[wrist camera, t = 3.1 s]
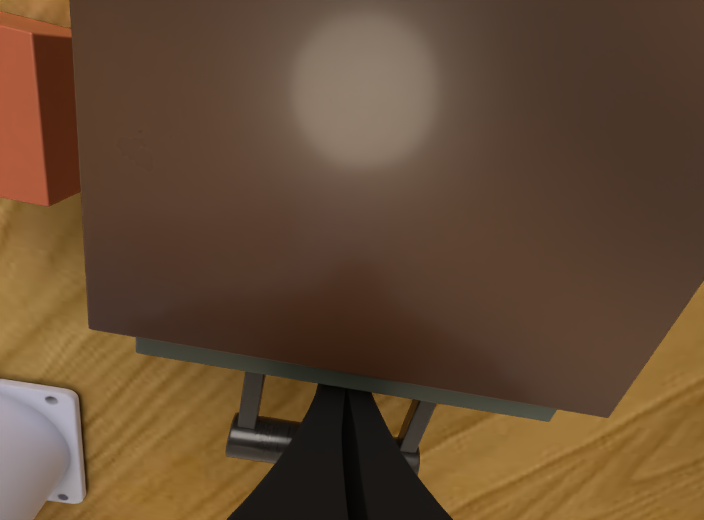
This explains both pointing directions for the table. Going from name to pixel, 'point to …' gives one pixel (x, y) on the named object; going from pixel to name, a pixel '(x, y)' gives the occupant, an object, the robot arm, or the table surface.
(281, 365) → the drawer
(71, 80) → the block
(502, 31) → the cabinet
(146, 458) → the table surface
